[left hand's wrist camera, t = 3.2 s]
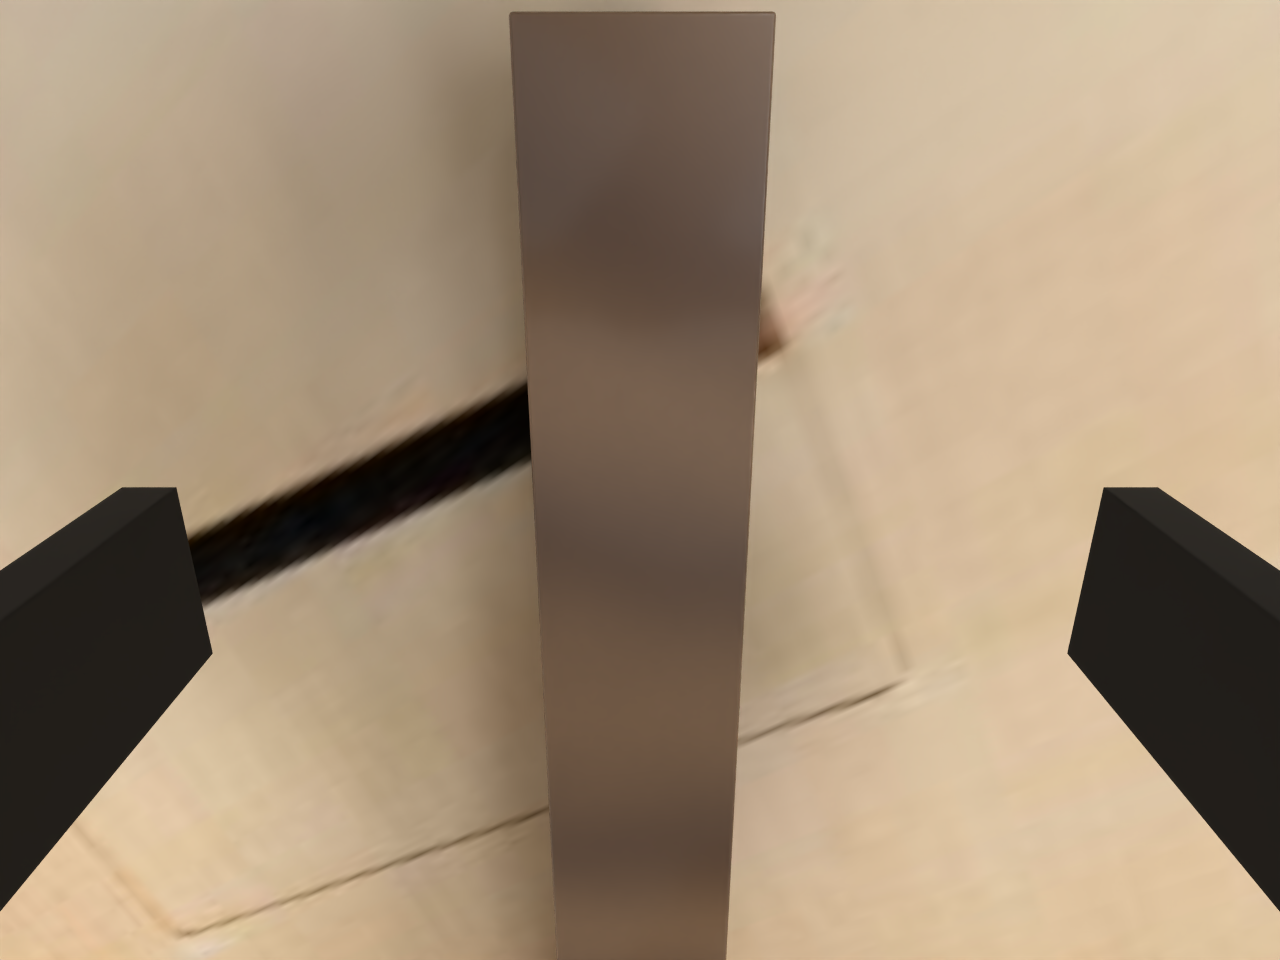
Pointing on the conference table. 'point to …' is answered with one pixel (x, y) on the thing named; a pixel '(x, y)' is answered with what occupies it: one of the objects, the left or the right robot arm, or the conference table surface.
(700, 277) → the bar
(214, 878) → the conference table surface
